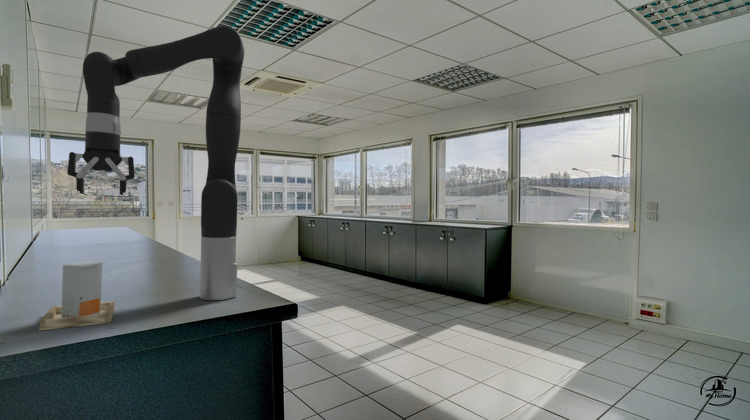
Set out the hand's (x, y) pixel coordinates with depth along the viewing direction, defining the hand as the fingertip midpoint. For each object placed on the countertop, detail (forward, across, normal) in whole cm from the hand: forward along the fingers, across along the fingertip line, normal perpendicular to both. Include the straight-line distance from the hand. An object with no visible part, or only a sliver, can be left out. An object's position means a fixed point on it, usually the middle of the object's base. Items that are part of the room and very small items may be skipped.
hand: (102, 194), depth 101 cm
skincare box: (+28, -2, -17) cm, 33 cm away
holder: (+28, -2, -17) cm, 33 cm away
